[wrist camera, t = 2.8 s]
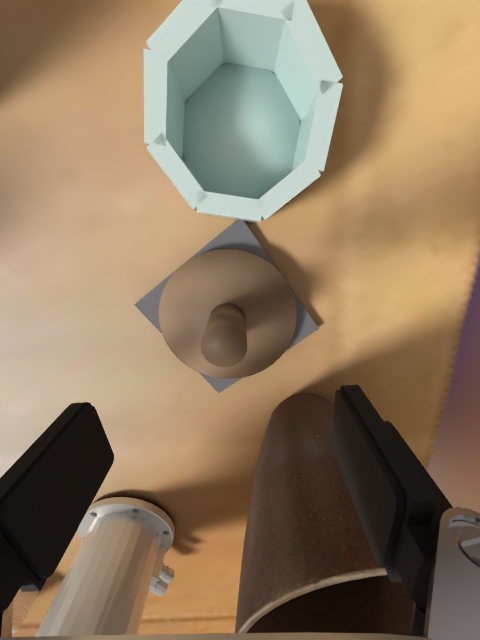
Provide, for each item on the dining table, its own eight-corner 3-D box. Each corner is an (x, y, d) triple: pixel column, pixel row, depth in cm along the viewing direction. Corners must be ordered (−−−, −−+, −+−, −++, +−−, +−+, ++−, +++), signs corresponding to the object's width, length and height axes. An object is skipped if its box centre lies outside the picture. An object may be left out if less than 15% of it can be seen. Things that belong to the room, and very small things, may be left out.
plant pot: (336, 336, 24) (501, 526, 9) (393, 434, 28) (567, 674, 13) (211, 404, 27) (172, 633, 12) (280, 484, 31) (316, 724, 16)
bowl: (337, 158, 18) (370, 135, 14) (228, 246, 21) (225, 252, 16) (256, 5, 15) (262, -93, 11) (139, 127, 18) (103, 91, 13)
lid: (318, 328, 23) (344, 362, 17) (218, 392, 25) (212, 440, 20) (241, 216, 19) (241, 212, 14) (134, 304, 22) (97, 331, 16)
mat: (317, 325, 23) (319, 328, 23) (219, 389, 26) (218, 392, 25) (240, 217, 20) (240, 216, 19) (136, 302, 22) (134, 304, 22)
